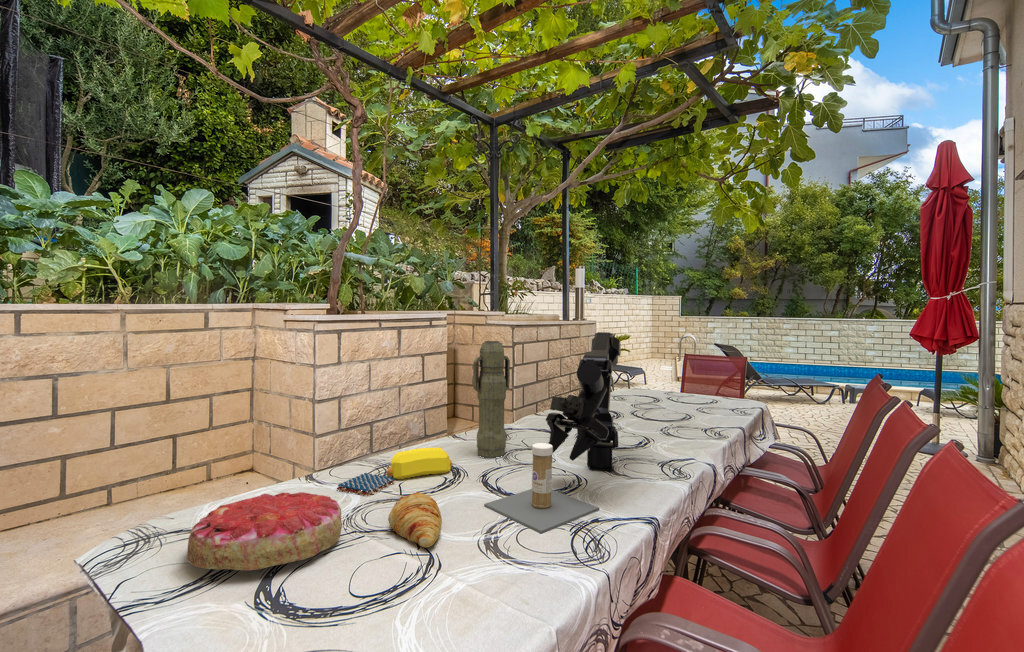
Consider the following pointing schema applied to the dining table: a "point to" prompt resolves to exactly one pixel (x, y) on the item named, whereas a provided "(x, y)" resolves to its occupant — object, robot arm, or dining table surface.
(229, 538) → the cake
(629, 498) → the dining table surface
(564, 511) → the mat
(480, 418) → the thermos
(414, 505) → the croissant
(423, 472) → the yellow elongated block
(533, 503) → the sprinkles bottle
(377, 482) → the woven mat
